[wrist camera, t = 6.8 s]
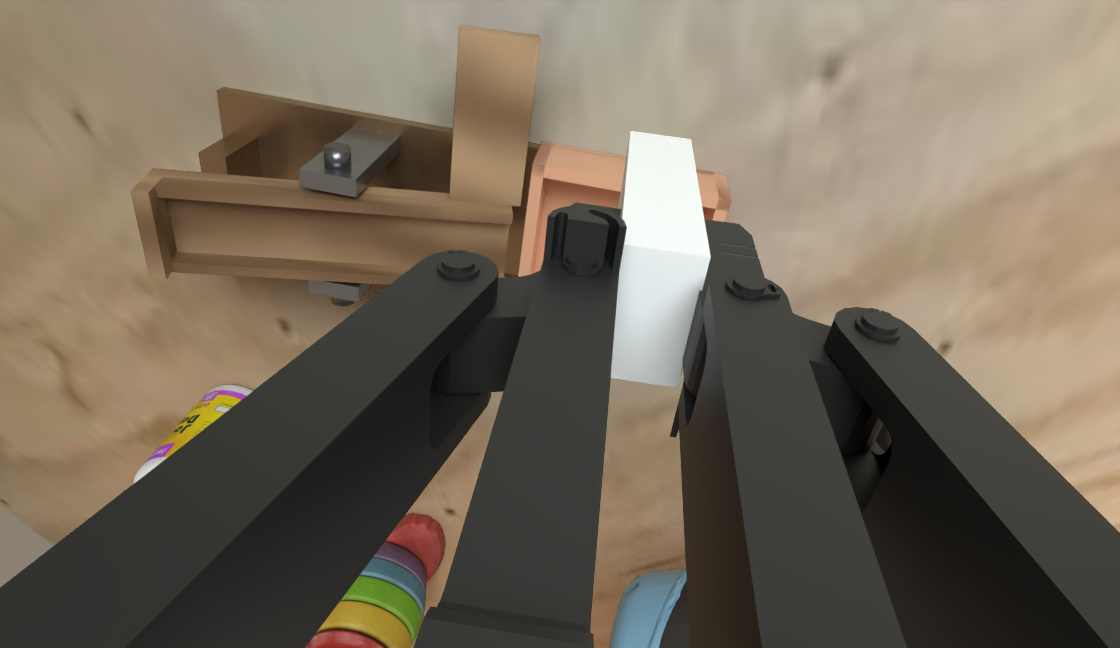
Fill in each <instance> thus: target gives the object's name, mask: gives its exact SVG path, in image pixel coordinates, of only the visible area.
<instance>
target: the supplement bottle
mask: <svg viewBox="0 0 1120 648" xmlns="http://www.w3.org/2000/svg"><path fill="white" fill-rule="evenodd" d="M251 392H252V390H250V389H247V388H245V387H241V386H237V385H222V386H218V387H215V388H213V389H212V390H210V391H209V392H207V393H206V394H205V396H204V397H203V398H202V399H201V400H200V401H199V402H198V403H197V404H196V405H195V407H194V408H193V409H192V410H191V411H190V412H189V413H188V415H187V416H186V417H185V418H184V419H183V420H182V421H181V422H180V424H179V425H178V426H177V427H176V428H175V429H174V430H173V432H172V433H171V434H170V435H169V436H168V437H167V438H166V439H165V441H164V442H163V443H162V444H161V445H160V446H159V448H158V449H157V450H156V451H155V452H154V453H153V454H152V456H151V457H150V458H149V459H148V460H147V461H146V462H145V463H144V464H143V466H142V467H141V468H140V469H139V471H138V472H137V474H136V476H135V478H134V483H136V482H137V481H138V480H139V479H141V478H142V477H143V476H145V475H146V474H147V473H148V472H150V471H151V470H152V469H154V468H155V467H156V466H157V465H159V464H160V463H161V462H163V461H164V460H165V459H166V458H168V457H169V456H170V455H172V454H173V453H174V452H175V451H177V450H178V449H179V448H181V447H182V446H183V445H184V444H186V443H187V442H188V441H190V440H191V439H192V438H193V437H195V436H196V435H197V434H199V433H200V432H201V431H202V430H204V429H205V428H206V427H208V426H209V425H210V424H211V423H213V422H214V421H215V420H216V419H218V418H219V417H220V416H222V415H223V414H224V413H225V412H227V411H228V410H229V409H231V408H232V407H233V406H234V405H236V404H237V403H238V402H240V401H241V400H242V399H243V398H245V397H246V396H247V395H249V394H250V393H251ZM134 483H133V484H134Z"/></svg>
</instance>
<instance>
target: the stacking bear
mask: <svg viewBox="0 0 1120 648" xmlns="http://www.w3.org/2000/svg"><path fill="white" fill-rule="evenodd" d="M444 548H445V540H444V534H443V531H442V528H441V526H440V525H439V523H438V522H436V521H435V520H433V519H432V518H430V517H428V516H426V515H419V514H408V515H405V516H404V517H403V518H402V520H401V521H400V522H399V524H398V525H397V526H396V528H395V529H394V530H393V532H392V533H391V534H390V536H389V537H388V538H387V540H386V541H385V542H384V544H383V545H382V546H381V547H380V549H379V550H378V551H377V553H376V554H375V555H374V557H373V558H372V559H371V561H370V562H369V563H368V565H367V566H366V567H365V569H364V570H363V571H362V573H361V574H360V575H359V577H358V578H357V579H356V581H355V582H354V583H353V585H352V586H351V587H350V589H349V590H348V591H347V593H346V594H345V595H344V597H343V598H342V599H341V601H340V602H339V603H338V605H337V606H336V607H335V609H334V610H333V611H332V613H331V614H330V615H329V617H328V618H327V619H326V621H325V622H324V623H323V625H322V626H321V627H320V629H319V630H318V631H317V633H316V634H315V635H314V636H313V638H312V639H311V640H310V642H309V643H308V644H307V648H410V646H411V645H412V643H413V642H414V639H415V637H416V635H417V633H418V631H419V628H420V626H421V621H422V618H423V615H424V609H425V601H426V594H425V593H426V582H427V581H428V580H429V579H430V578H431V577H432V576H433V575H434V573H435V572H436V570H437V569H438V567H439V565H440V563H441V560H442V557H443V554H444Z"/></svg>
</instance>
